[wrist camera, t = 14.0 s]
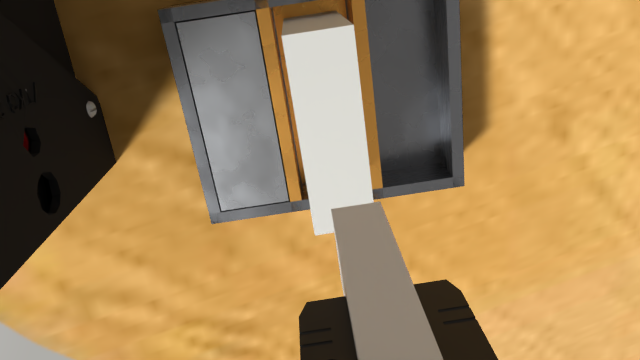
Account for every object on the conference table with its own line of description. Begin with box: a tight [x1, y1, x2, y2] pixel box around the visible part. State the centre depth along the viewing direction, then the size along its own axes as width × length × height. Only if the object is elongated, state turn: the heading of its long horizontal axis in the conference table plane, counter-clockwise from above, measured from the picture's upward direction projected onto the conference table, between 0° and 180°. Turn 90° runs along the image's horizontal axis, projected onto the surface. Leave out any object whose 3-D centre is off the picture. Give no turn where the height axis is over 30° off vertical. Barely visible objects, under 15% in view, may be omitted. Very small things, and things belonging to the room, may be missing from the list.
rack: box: [158, 0, 464, 224], centre depth 34 cm, size 15×18×4 cm
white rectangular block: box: [281, 10, 374, 235], centre depth 30 cm, size 4×11×10 cm, turn 8°
